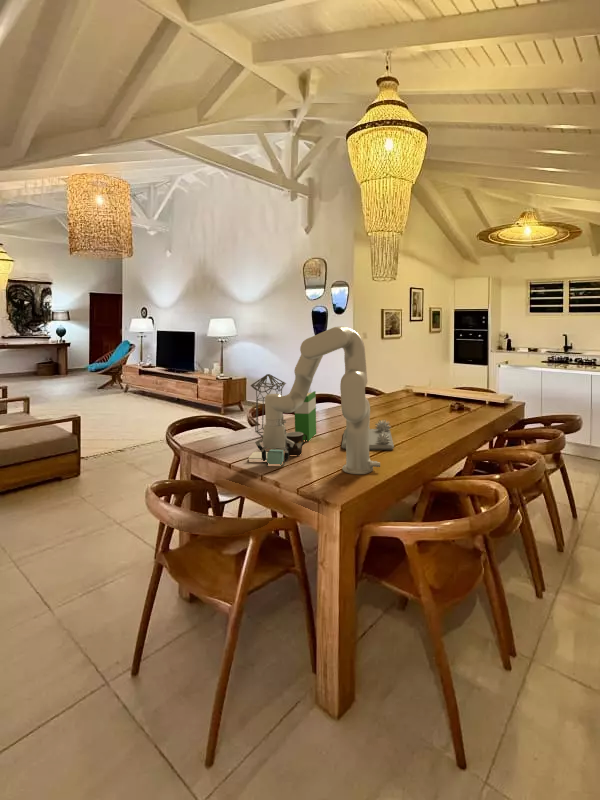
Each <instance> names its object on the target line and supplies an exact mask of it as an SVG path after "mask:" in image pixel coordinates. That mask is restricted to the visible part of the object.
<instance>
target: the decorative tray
mask: <svg viewBox="0 0 600 800" xmlns="http://www.w3.org/2000/svg"><path fill="white" fill-rule="evenodd" d="M390 423H391V422H390V421H387V419H385V420H380V419H379V420H378V421H377V422H376V423H374V425H375V426H374V428H369V451H372V450H373V451H374V450H375V451H377V450H378V451H392V450H393V449H394V448H395V445H394V441H393V437H392V431H391V430H390V429H392V426H391V425H390ZM341 448H342V449H343V450H346V428H345V429H344V430H343V436H342V443H341Z"/></svg>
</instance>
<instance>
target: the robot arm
mask: <svg viewBox="0 0 600 800" xmlns="http://www.w3.org/2000/svg"><path fill="white" fill-rule="evenodd" d="M341 349H343V352H344V374H343V375H342V377H341V379H340V384H339V385H340V386H339V387H340V401H341V403H340V405H341V413H342V417H343V418H344V419H345V420H346V421H345V422H346V424H345V429H346V449H345V453H346V454H345V457H346V458H345V459H346V460H345V461H346V464H344V465H342V471H343V472H344V473H346V474H351V475H366V474H370V473H371V472H373V471H374V468H375V467H376V468H380V467H381V462H379V461H377V460H371V457H370V450H369V429H370V420H371V418H370V416H371V404H370V401H369V399H368V398H367V397H366V387H367V385H368V374H367V360H366V349H365V344H364V341H363V338H362V337H361V335H360V334H359V333H358V332H356V330H354V329H352V328H350V327H347V326H342V325H341V326H335V327H330V328H329V329H327V330H325V331H322V332H319V333H318V334H316V335H313V336H311V337H308V338H306V339H304V340H303V341H302V342H301V344H300V348H299V350H300V356H299V359H298V360H297V363H296V365H295V367H294V375H295V376H294V382H293V384H292V387H291V389H290V391H289V393H288V394H286V395H282V396H281V393H280V394H279V393H278V394H276V393H269V394H268V395H267V394H266V395H265V396H264V397H265V398H264V400H265V401H264V412H265V414H264V415H265V417H264V418H265V424H264V425H263V429H264V430H262V432H263V433H262V435H263V438H262V439H261V438H259V439H258V440H256V441H255V443H254V444H255V445H256V446H257V449H258V450H259V452H262V459H263V461H265V460H266V452H267V450H266V449H273V450H284V463H287V461H288V460H289V458H290V456H289V451H290V450H291V449H292V447H293V445H294V442H293V441H291V440H289V439H287V435H286V433H287V429H286V425H285V424H286V423H287V420H286V419H284V413H286V414H291V413H295V410H297V409H298V408H300V407H301V406H302V404H303V402H304V400H305V398H306V396H307V394H308V393H309V391H310V388H311V385H312V383H313V380H314V377H315V375H316V372H317V370H318V367H319V365H320V363H321V361H322V359H323V357H324V356H326V355H328V354H330V353H332V352H336V351H337V350H341ZM283 424H284V425H283ZM261 443H262V445H261ZM287 443H289V444H290V447H289V448H288V447H287Z"/></svg>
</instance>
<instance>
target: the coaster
mask: <svg viewBox="0 0 600 800" xmlns="http://www.w3.org/2000/svg"><path fill="white" fill-rule="evenodd" d="M268 452H269V451H266V460H267V453H268ZM248 459H261V460H263V459H262V452H261V451H253V452H252V453H251V454H250V455H249V456H248Z"/></svg>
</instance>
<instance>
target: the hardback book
mask: <svg viewBox="0 0 600 800" xmlns="http://www.w3.org/2000/svg"><path fill="white" fill-rule="evenodd" d="M316 394H317V393H316V391H315V390H314V391H312V392H308V394H307V396H306V398H305V400H304V402H303V404H302V406H301V407H300V408H298V409H297V410H295V411H294V432H301V433H303V434H305V435H307V441H309V440H310V439H311V438H312V437H313V436H314V435H315V434H316V435H317V404H316V403H317V402H316V399H317V398H316ZM305 435H304V436H303V440H306V436H305ZM316 435H315V436H316ZM315 436H314V437H315ZM314 437H313V438H314ZM313 438H312V439H313ZM312 439H311V440H312ZM311 440H310V441H311Z"/></svg>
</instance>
